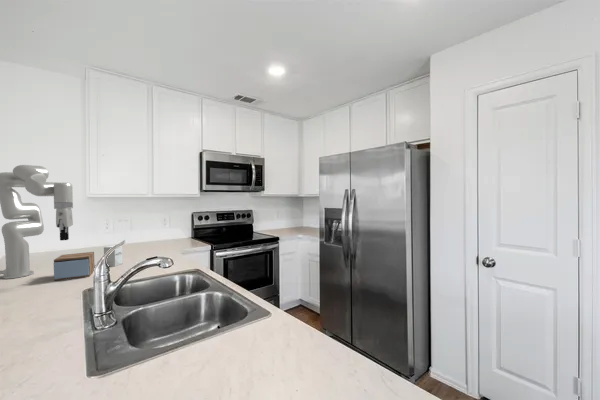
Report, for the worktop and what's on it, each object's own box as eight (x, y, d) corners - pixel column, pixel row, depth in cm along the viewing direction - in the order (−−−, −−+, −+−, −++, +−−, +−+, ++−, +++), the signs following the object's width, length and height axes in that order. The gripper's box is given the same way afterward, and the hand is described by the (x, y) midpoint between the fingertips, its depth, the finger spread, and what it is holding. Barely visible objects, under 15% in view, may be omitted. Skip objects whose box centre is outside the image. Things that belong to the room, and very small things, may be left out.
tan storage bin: (62, 274, 156) (62, 254, 155) (94, 270, 163) (93, 251, 163) (54, 281, 143) (53, 259, 143) (89, 276, 150) (88, 256, 150)
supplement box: (115, 266, 171) (114, 247, 171) (103, 266, 171) (103, 247, 171) (123, 263, 178) (122, 244, 178) (112, 263, 179) (111, 245, 178)
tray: (62, 272, 155) (61, 257, 154) (93, 268, 162) (93, 254, 161) (54, 279, 142) (53, 263, 142) (88, 274, 149) (87, 259, 149)
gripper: (68, 206, 137) (69, 241, 138) (76, 205, 150) (77, 237, 151) (49, 206, 134) (50, 243, 134) (59, 205, 147) (59, 238, 147)
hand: (64, 239), depth 142 cm, fingers closed
